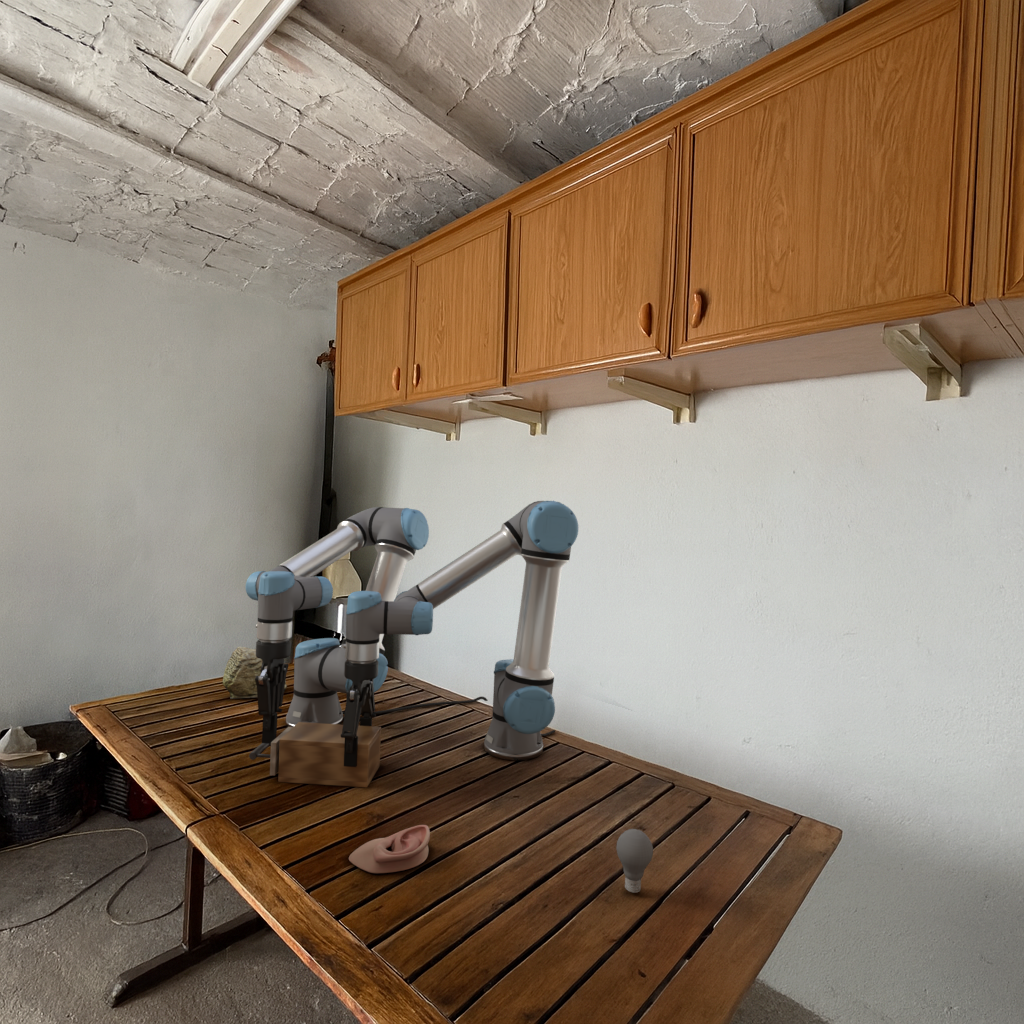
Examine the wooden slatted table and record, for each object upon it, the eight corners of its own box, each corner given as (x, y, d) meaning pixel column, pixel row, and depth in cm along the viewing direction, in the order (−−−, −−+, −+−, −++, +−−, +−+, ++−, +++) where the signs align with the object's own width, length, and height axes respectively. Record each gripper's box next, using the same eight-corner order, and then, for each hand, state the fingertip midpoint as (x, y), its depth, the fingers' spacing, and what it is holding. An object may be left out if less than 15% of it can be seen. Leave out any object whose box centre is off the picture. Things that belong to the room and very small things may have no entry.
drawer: (246, 774, 141) (247, 741, 141) (265, 756, 151) (266, 725, 150) (351, 780, 140) (353, 747, 140) (364, 762, 150) (365, 731, 149)
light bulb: (610, 879, 108) (613, 822, 108) (644, 879, 109) (647, 822, 109) (619, 902, 102) (622, 840, 102) (655, 901, 103) (658, 840, 103)
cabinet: (278, 781, 140) (279, 739, 140) (297, 761, 151) (298, 721, 151) (366, 787, 139) (368, 744, 139) (379, 766, 150) (381, 726, 150)
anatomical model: (341, 845, 108) (369, 813, 120) (340, 868, 108) (368, 833, 120) (414, 857, 106) (436, 823, 117) (413, 880, 106) (435, 844, 117)
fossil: (218, 695, 195) (220, 647, 195) (278, 685, 208) (279, 640, 207) (228, 703, 189) (230, 653, 188) (289, 692, 201) (290, 645, 201)
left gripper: (270, 632, 152) (265, 731, 152) (244, 644, 138) (239, 752, 139) (300, 634, 151) (296, 733, 151) (278, 646, 138) (273, 754, 138)
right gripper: (360, 646, 156) (356, 735, 156) (328, 672, 133) (324, 776, 133) (390, 648, 156) (386, 736, 156) (363, 674, 132) (359, 778, 133)
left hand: (269, 742), depth 145 cm, fingers closed
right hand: (357, 755), depth 145 cm, fingers closed on cabinet, 11 cm apart
